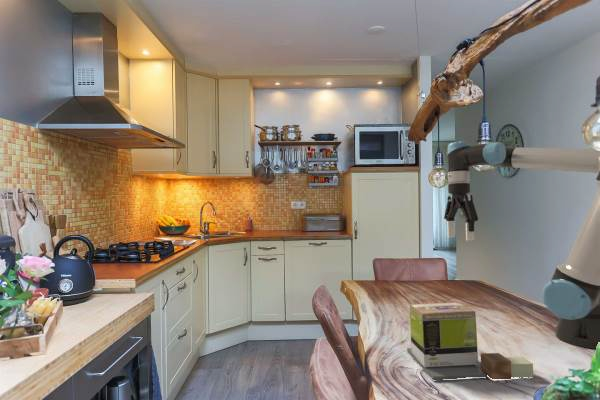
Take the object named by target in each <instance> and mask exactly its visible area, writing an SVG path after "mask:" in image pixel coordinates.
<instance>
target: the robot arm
mask: <svg viewBox="0 0 600 400" xmlns="http://www.w3.org/2000/svg"><path fill="white" fill-rule="evenodd" d="M595 149H596V148H572V147H571V148H569V147H568V148H565V147H562V148H561V147H560V148H559V147H518V146H517V147H514V146H513V147H509V146H505V144H504V143H503V142H501V141H495V142H493V141H491V142H488V143H481V144H477V145H470V143H469V142H468V141H464V140H462V141H454V142H450V143H449V144H448V145H447V152H446V153H447V154H446V157H447V180H448V183H449V184H447V185H448V187H447V190H448V192H447V193H448V194H450V195H451V196H449V195H448V196H447V199H446V200H447V201H446V206H445V211H444V215H443V219H444V220H446V222H447V224H446V225H447V238H448V239H449V238H456V219H455V218H456V215H457V212H458V210H459V209H461V211H462V213H463V214H462V215H464V219H465V241H467V242H473V241H474V242H475V223H476V222H478V221H479V217H478V213H477V210H476V207H475V204H474V198H473V195H472V194H470V193H471V184H470V183H469V182H471V179H470V178H471V176H470V175H471V174H470V172H471V170H470V167H475V166H478V167H479V166H491V167H497V168H503V169H505V168H512V169H513V168H516V169H529V170H530V169H531V170H543V171H544V170H546V171H562V172H577V173H589V174H590V173H592V174H597V176H596V179H595V182H596V184H597V186H598V190H597V193H596V195H595V197H594V199H593V201H592V202H591V203H592V204H591V205H590V208H589V211H588V212H587V215H586V217H585V218H584V221H583V224H582V225H581V228H580V230H579V232H578V235H577V237H576V239H575V241H574V244H573V245H572V248H571V250H570V252H569V255H568V257H567V259H566V261H565V262H564V263H561V264H558V265H557V266H556V268H555V270H554V272H553V275H552V276H551V279H550V281H548V282H547V283H546V284H544V286H543V288H542V291H541V298H542V302H543V303H544V306H545V307H546V308H547V310H548V311H549V312H551V313H552V314H554V315H555V316H557V317H559V320H558V322H557V325H556V327H555V337H556V338H558V339H559V340H560V341H562V342H565V343H568V344H570V345H574V346H577V347H580V348H587V349H595V350H597V349H596V346H597V344H598V342H600V151H597V150H595Z"/></svg>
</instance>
